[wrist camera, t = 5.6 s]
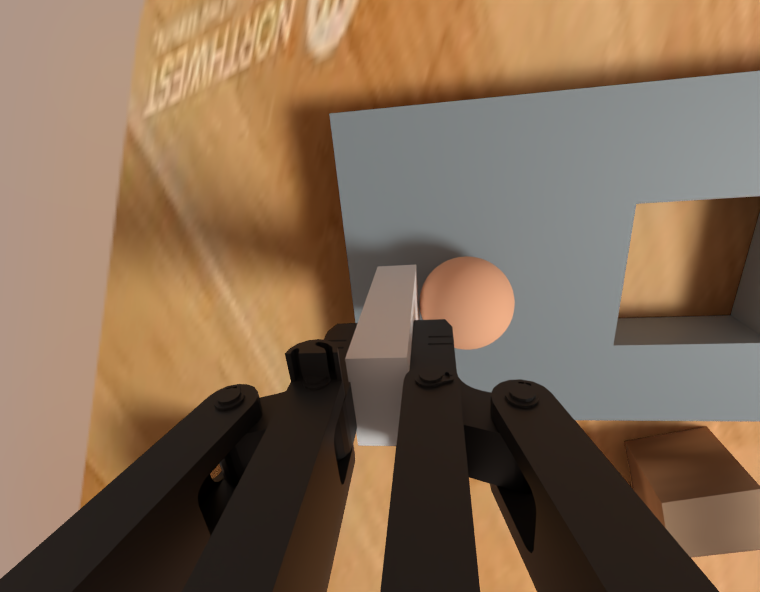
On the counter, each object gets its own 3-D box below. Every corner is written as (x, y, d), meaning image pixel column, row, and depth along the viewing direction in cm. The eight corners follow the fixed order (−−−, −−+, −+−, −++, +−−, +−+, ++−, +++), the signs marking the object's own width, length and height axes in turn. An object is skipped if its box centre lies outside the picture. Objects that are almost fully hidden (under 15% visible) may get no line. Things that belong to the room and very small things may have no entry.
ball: (409, 332, 17) (441, 376, 14) (404, 253, 16) (438, 282, 13) (485, 317, 18) (531, 355, 15) (486, 240, 17) (537, 264, 13)
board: (373, 388, 23) (367, 418, 20) (342, 114, 17) (329, 113, 15) (777, 387, 20) (822, 421, 18) (896, 59, 14) (984, 48, 12)
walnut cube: (633, 491, 24) (670, 559, 20) (623, 440, 22) (661, 503, 19) (710, 479, 23) (764, 549, 19) (705, 425, 21) (762, 488, 18)
